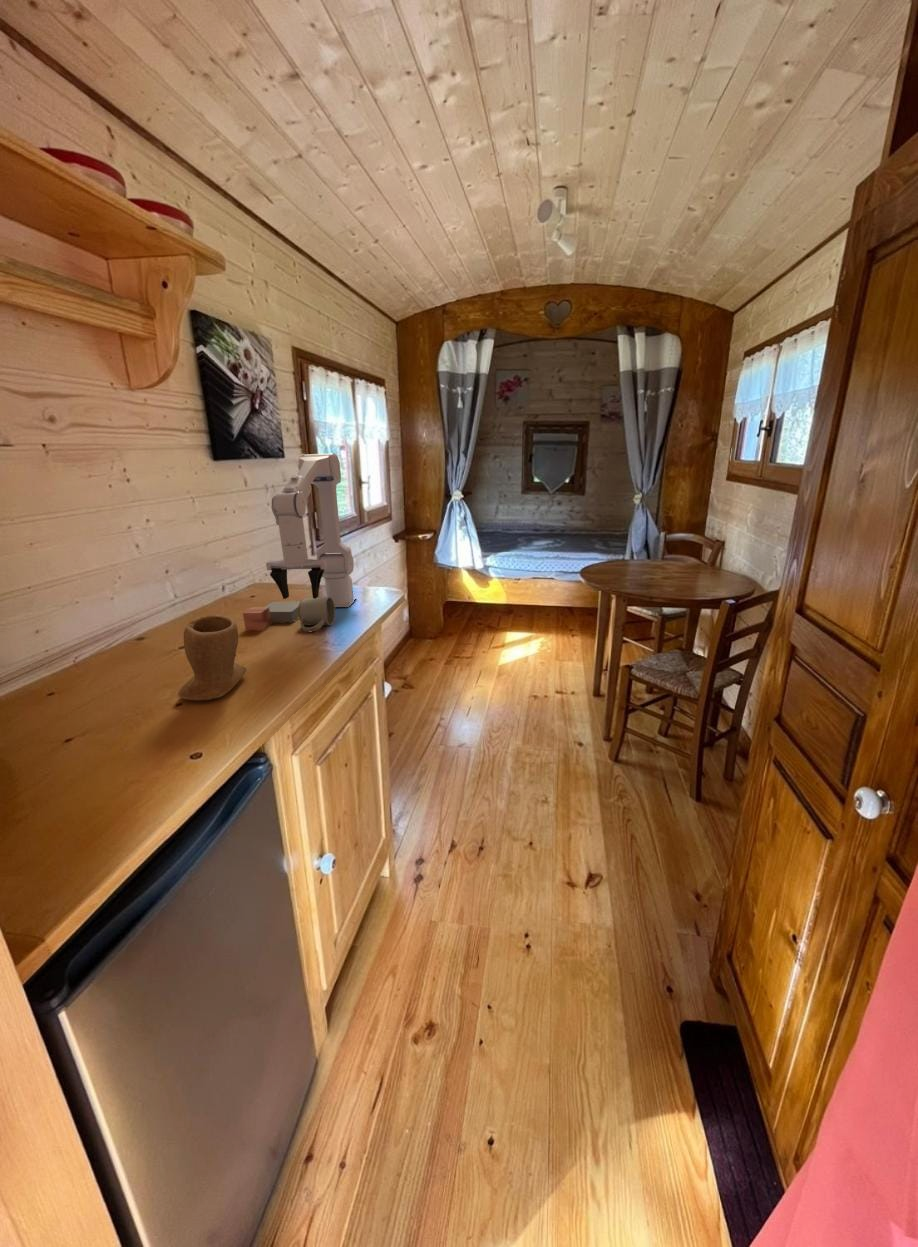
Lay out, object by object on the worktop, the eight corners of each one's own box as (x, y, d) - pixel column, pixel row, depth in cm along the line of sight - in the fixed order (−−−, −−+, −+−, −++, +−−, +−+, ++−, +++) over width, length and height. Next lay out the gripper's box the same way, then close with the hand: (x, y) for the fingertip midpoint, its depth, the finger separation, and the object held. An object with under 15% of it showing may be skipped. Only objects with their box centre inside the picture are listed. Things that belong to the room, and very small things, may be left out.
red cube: (254, 624, 149) (251, 607, 147) (271, 624, 149) (269, 607, 147) (245, 630, 144) (242, 612, 143) (263, 630, 144) (261, 612, 142)
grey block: (273, 613, 160) (271, 601, 159) (306, 613, 159) (304, 601, 158) (258, 624, 151) (256, 611, 149) (293, 623, 150) (291, 611, 148)
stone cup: (232, 704, 102) (218, 629, 98) (170, 705, 103) (154, 631, 98) (263, 672, 117) (252, 605, 112) (209, 673, 117) (195, 606, 112)
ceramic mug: (308, 620, 151) (304, 593, 148) (337, 619, 150) (333, 593, 148) (294, 633, 141) (290, 605, 139) (324, 633, 140) (321, 604, 138)
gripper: (257, 547, 128) (266, 602, 132) (317, 545, 127) (324, 601, 131) (269, 541, 135) (277, 594, 139) (326, 540, 133) (333, 593, 138)
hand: (300, 597), depth 135 cm, fingers open, 7 cm apart
